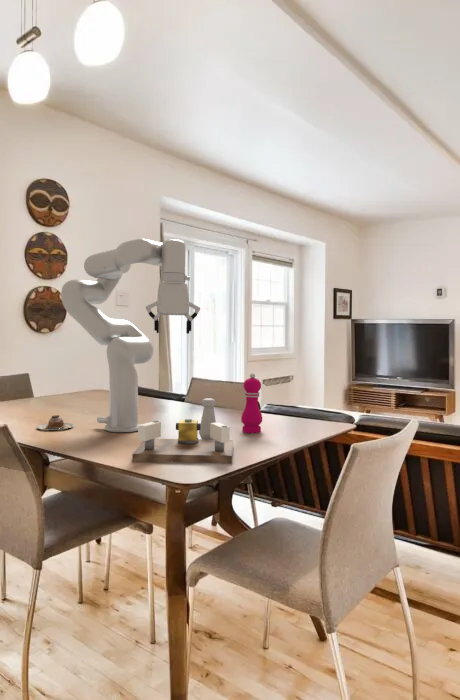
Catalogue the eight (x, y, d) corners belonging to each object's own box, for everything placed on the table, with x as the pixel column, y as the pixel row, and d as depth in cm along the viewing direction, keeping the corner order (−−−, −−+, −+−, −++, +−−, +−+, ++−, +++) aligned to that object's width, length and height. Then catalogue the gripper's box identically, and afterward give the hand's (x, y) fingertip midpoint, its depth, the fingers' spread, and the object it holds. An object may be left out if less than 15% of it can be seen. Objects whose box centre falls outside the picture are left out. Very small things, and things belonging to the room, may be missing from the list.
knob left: (145, 451, 132) (145, 425, 132) (137, 450, 134) (137, 424, 133) (160, 446, 139) (161, 421, 138) (153, 445, 140) (153, 420, 140)
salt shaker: (210, 442, 154) (210, 400, 153) (195, 440, 157) (195, 399, 156) (220, 439, 159) (221, 398, 158) (205, 437, 162) (206, 397, 161)
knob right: (209, 447, 138) (209, 422, 138) (218, 446, 139) (218, 421, 139) (220, 453, 132) (221, 426, 132) (229, 452, 133) (230, 426, 133)
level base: (132, 461, 131) (132, 428, 131) (145, 445, 150) (146, 416, 149) (231, 463, 130) (232, 430, 130) (233, 446, 149) (233, 418, 149)
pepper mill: (260, 434, 167) (261, 374, 167) (239, 433, 169) (240, 373, 168) (263, 430, 174) (264, 372, 174) (243, 429, 176) (243, 372, 175)
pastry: (79, 426, 179) (79, 413, 178) (65, 433, 167) (65, 419, 166) (46, 425, 179) (46, 412, 179) (30, 432, 167) (30, 418, 167)
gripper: (199, 281, 165) (198, 333, 166) (146, 279, 162) (145, 332, 163) (201, 279, 158) (200, 333, 158) (145, 277, 155) (145, 333, 156)
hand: (172, 333), depth 161 cm, fingers open, 9 cm apart
